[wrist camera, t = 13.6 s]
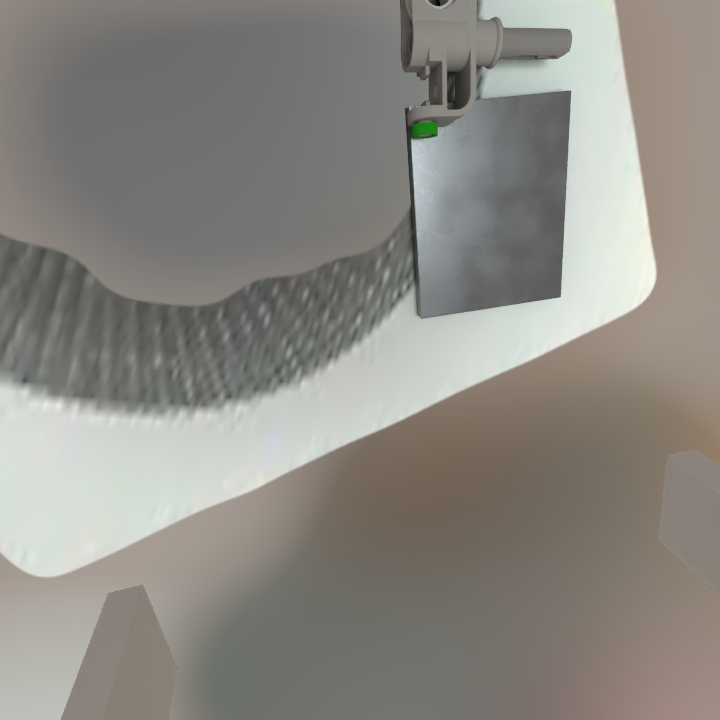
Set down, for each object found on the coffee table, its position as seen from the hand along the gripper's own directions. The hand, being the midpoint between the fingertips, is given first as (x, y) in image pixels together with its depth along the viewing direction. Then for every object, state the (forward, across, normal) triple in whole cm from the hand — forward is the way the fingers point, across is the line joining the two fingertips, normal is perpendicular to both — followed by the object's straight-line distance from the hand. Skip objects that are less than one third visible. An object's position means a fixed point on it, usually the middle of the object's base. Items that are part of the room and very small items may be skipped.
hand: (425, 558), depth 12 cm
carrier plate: (+25, +13, +4) cm, 29 cm away
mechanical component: (+23, +18, +14) cm, 32 cm away
